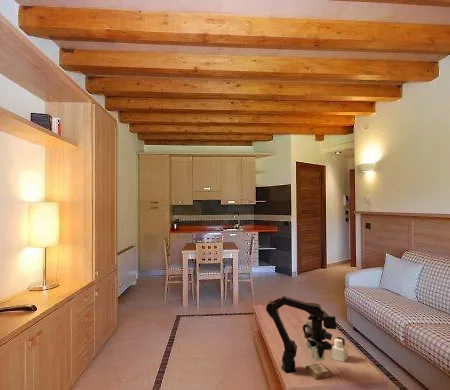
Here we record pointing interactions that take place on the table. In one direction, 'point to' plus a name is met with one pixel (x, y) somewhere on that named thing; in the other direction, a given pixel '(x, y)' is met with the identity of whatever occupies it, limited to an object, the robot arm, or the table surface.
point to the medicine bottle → (339, 350)
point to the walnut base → (318, 371)
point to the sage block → (316, 354)
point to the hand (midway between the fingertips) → (317, 355)
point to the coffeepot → (308, 326)
